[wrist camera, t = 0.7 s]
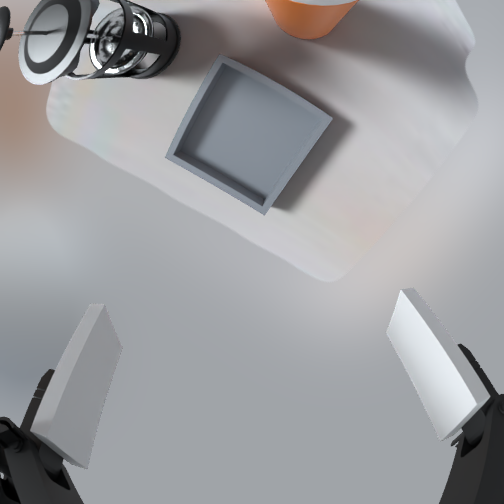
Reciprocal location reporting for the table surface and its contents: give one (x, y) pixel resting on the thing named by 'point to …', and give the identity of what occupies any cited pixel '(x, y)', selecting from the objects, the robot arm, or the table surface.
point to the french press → (90, 40)
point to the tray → (246, 133)
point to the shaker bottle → (309, 16)
